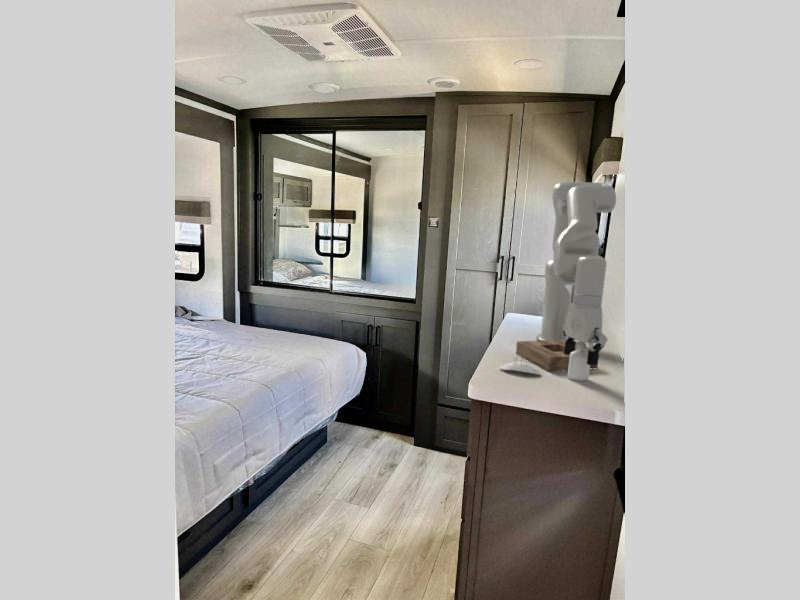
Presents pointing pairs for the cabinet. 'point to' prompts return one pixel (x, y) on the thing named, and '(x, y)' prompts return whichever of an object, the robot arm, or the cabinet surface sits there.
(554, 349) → the walnut socket block
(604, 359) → the cabinet surface
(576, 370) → the eye dropper bottle
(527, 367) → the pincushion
